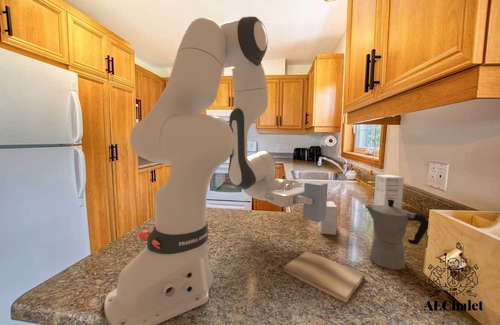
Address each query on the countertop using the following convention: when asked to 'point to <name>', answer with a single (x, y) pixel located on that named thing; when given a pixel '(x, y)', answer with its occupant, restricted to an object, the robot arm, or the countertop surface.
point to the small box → (329, 220)
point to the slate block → (315, 201)
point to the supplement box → (388, 190)
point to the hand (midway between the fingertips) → (318, 199)
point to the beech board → (325, 275)
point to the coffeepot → (392, 234)
